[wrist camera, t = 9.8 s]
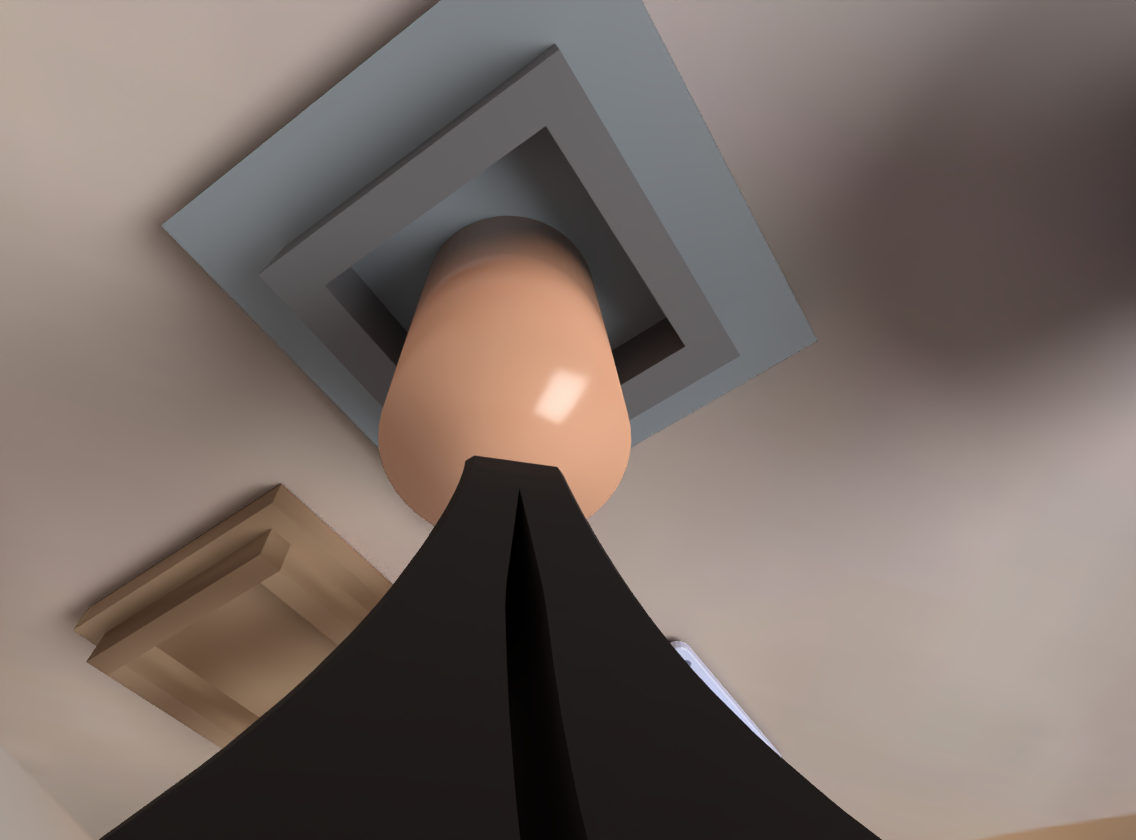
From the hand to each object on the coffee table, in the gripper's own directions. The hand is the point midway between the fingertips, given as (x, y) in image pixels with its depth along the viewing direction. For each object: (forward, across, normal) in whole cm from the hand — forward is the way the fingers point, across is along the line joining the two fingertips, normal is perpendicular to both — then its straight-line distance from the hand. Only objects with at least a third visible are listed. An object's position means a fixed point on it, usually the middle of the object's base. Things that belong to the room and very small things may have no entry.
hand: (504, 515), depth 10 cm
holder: (+10, +6, +14) cm, 19 cm away
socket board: (+10, 0, 0) cm, 10 cm away
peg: (+9, 0, 0) cm, 9 cm away
